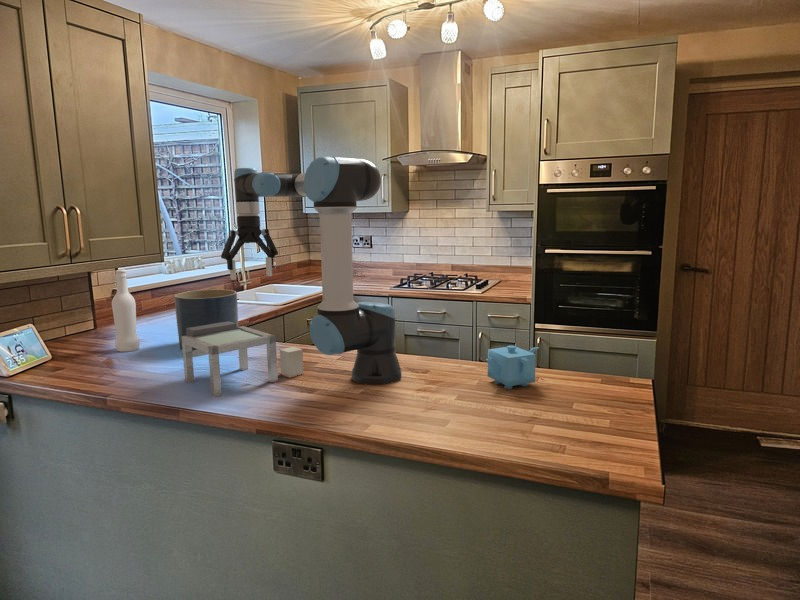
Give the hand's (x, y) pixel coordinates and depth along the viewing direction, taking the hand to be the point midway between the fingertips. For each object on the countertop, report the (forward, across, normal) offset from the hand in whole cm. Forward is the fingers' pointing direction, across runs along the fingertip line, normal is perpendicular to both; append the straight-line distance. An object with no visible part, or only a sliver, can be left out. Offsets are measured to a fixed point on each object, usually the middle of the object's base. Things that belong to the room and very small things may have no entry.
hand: (251, 277), depth 191 cm
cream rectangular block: (+28, +2, +27) cm, 39 cm away
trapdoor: (+17, +20, +17) cm, 31 cm away
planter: (+28, +5, -27) cm, 39 cm away
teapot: (+28, -38, +82) cm, 94 cm away
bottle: (+28, +29, -44) cm, 60 cm away
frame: (+28, +20, +20) cm, 40 cm away
